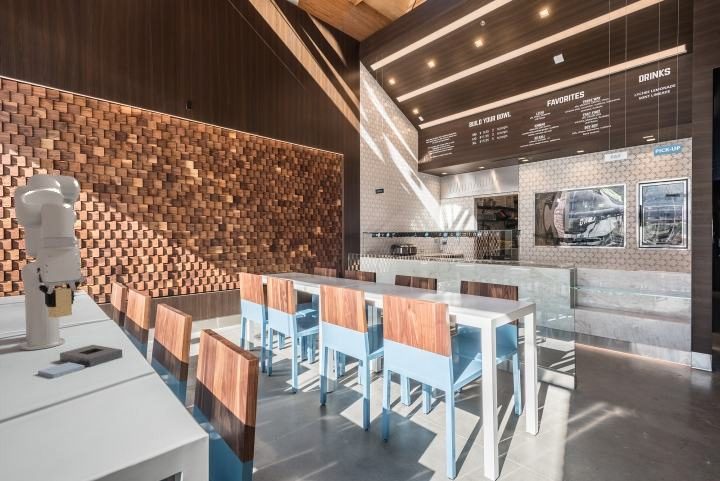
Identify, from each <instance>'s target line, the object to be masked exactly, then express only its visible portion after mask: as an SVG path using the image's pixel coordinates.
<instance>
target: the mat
mask: <svg viewBox="0 0 720 481" xmlns="http://www.w3.org/2000/svg"><path fill="white" fill-rule="evenodd" d="M84 369H85V366H84V365H80V364H76V363H71V362H64V363H61V364H58V365H53V366H50V367H48V368H43V369H40V370H37V372H38V375H41V376H45V377H48V378H52V379H55V378H58V377H61V376H64V375H68V374H72V373H74V372H77V371H81V370H84Z"/></svg>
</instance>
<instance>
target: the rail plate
mask: <svg viewBox="0 0 720 481" xmlns="http://www.w3.org/2000/svg"><path fill="white" fill-rule="evenodd" d="M120 358H121V359H122V358H123V349H120V348H115V347H108V346H103V345H96V344H90V345H86V346H83V347H77V348H75V349H71V350H68V351H63V352H59V361H60V362H64V363H68V362H71V363H76V364H80V365H84V367H87V368H91V367H95V366H97V365H100V364H104V363H108V362H110V361H114V360H117V359H120Z"/></svg>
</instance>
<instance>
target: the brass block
mask: <svg viewBox="0 0 720 481" xmlns="http://www.w3.org/2000/svg"><path fill="white" fill-rule="evenodd" d="M53 293H54V294H55V307H48V312H49V317H55V318H57V317H59V318H62V317H63V318H64V317H68V316H72V314H73V312H72V305H73V304H72V301H71V288H66V287H59V288H53Z"/></svg>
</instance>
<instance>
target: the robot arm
mask: <svg viewBox="0 0 720 481" xmlns="http://www.w3.org/2000/svg"><path fill="white" fill-rule="evenodd" d="M80 188H81V187H80V184H79V182H78V180H77V179H76V178H75V177H73V176H72V175H62V174H50V173H49V174H48V173H36V174H33V175H32V176H30V177H28V178H27V181H26V185H25V184H24V185H20V186H17V187H16V188H15V189H14V190H13V200H14V214H15V220H16V221H17V224H18V225H19V226H20V227H23V228H24V229H23V230H24V232H23V233H24V234H23V235H24V248H25V253H26V255H27V256H28V257H30V258H33V259H35V261H32V262H28V263H26V264H24V265H23V267H22V268H21V270H20V274H21V275H20V277H21V280H22V285H23V290H24V291H23V292H24V306H25V307H24V309H25V339H26V340H25V343H23V344H21V345H20V349H21V350H23V351H34V350H35V351H36V350H43V349H48V348H49V349H50V348H52V347H57V346H60V345H62V344H65V342H66V339H65V338H63V337H60V335H61V334H60V317H57V318H55V317H49V312H48V307H55V294H54V293H53V289H54V287H55V286H56V287H57V286H65V288H71V301H72V305H73V304H74V301H75V291H76V290H77V288H78V287H79V286H80V285H81V284H82V283H84V282H85V281H86V280H87V278H86V276H85V275H84V274H83V273H82V266H81V264H82V263H81V252H80V251H81V250H80V249H81V248H80V241H79V239H78V237H77V235H75V224H76V223H77V217H78V216H77V211H76V210H75V209H74V206H75V204H76V203H77V200H78V198H79V197H80V193H81V189H80Z"/></svg>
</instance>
